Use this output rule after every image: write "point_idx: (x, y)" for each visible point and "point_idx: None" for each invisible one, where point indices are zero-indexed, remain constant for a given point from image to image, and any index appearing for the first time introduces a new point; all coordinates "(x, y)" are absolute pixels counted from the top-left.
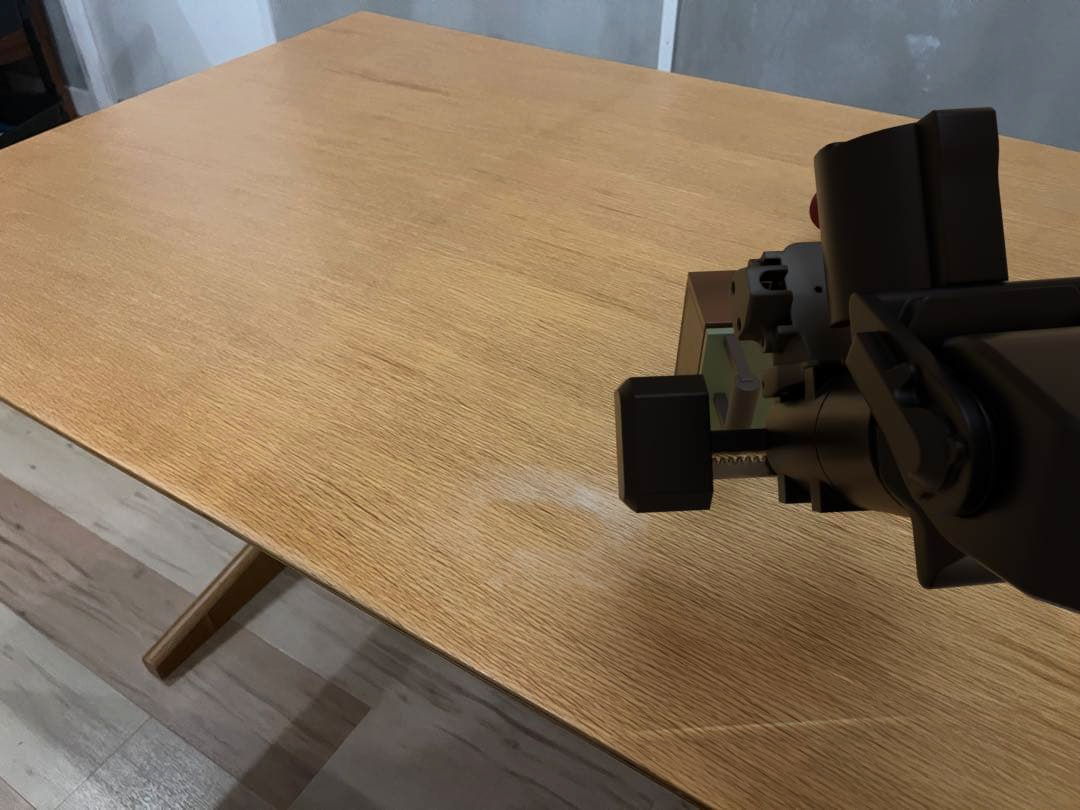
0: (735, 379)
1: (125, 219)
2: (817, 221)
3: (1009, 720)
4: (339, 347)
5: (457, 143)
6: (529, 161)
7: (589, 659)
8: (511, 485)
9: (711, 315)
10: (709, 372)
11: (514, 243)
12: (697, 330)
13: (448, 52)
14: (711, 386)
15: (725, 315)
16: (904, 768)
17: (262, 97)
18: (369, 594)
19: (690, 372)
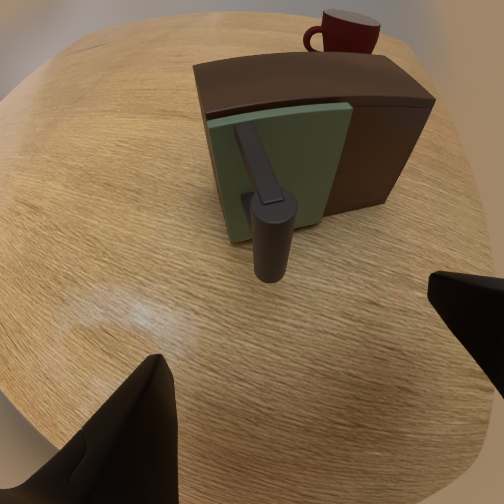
0: (253, 202)
1: None
2: (309, 48)
3: (466, 432)
4: (11, 202)
5: (104, 59)
6: (138, 54)
7: None
8: (84, 308)
9: (214, 102)
10: (227, 174)
11: (116, 95)
12: (205, 124)
13: (116, 30)
14: (235, 188)
15: (234, 99)
16: (403, 495)
17: (36, 78)
18: (23, 411)
19: (214, 170)
